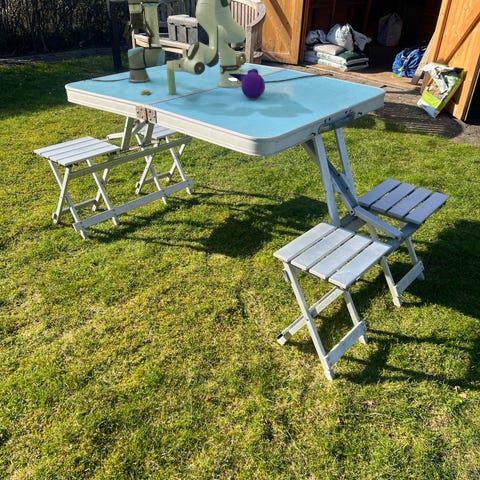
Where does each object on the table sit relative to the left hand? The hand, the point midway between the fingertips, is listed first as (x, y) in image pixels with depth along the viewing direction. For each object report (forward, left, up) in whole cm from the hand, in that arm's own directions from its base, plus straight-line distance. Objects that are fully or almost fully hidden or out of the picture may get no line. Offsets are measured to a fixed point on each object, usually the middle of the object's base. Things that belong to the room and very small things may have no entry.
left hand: (140, 49), depth 287 cm
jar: (+17, -6, -28) cm, 33 cm away
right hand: (+20, -19, -6) cm, 28 cm away
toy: (+62, -34, -28) cm, 76 cm away
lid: (0, 0, -26) cm, 26 cm away
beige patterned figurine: (+80, +58, -28) cm, 103 cm away
